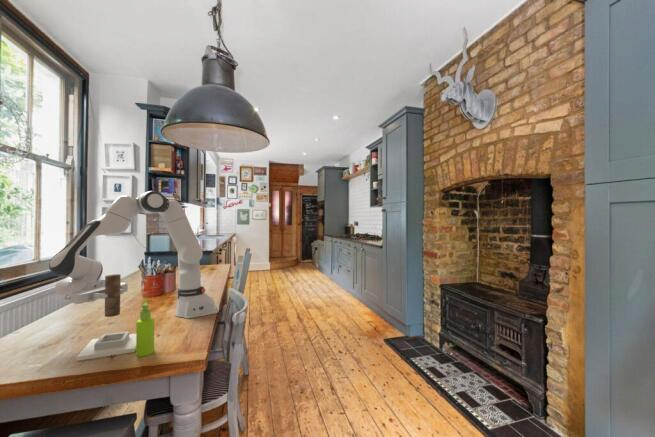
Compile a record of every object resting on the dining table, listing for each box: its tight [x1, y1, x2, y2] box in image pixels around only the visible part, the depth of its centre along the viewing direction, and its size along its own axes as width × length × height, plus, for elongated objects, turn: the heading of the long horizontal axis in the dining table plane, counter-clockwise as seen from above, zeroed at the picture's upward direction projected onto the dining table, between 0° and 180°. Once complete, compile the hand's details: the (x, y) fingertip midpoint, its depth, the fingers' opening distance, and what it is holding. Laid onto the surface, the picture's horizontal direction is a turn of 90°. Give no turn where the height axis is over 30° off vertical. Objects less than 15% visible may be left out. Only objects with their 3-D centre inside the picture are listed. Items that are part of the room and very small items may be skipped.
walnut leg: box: [104, 273, 122, 318], centre depth 115 cm, size 5×5×16 cm
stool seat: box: [76, 331, 136, 362], centre depth 115 cm, size 18×16×4 cm
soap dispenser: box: [135, 301, 155, 357], centre depth 111 cm, size 6×7×20 cm
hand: (114, 294), depth 115 cm, fingers closed on walnut leg, 5 cm apart
